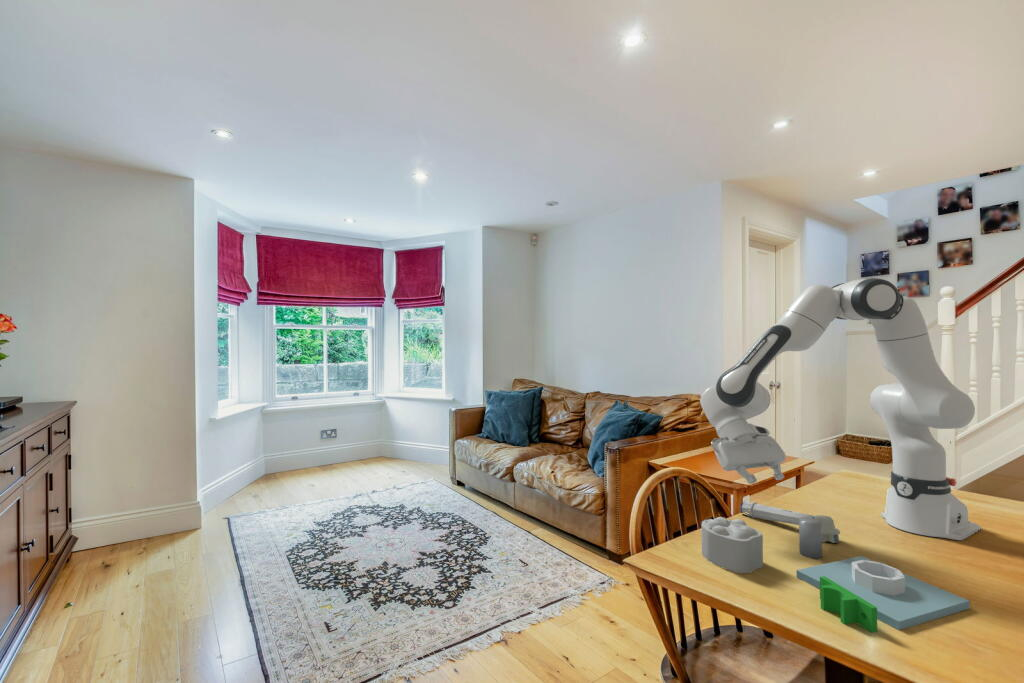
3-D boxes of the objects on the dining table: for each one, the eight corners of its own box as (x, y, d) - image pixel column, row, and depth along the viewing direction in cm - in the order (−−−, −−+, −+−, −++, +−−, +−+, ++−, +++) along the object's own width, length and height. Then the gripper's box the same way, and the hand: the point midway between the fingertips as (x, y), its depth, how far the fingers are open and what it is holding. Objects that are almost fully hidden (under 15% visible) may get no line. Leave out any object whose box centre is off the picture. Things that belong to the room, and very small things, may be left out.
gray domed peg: (808, 549, 115) (808, 516, 115) (826, 557, 111) (826, 523, 111) (794, 551, 114) (794, 518, 114) (812, 560, 109) (812, 525, 109)
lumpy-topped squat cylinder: (742, 576, 102) (741, 536, 102) (690, 554, 113) (690, 518, 113) (768, 564, 107) (768, 526, 107) (717, 544, 118) (717, 509, 118)
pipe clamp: (808, 601, 92) (807, 577, 93) (825, 599, 93) (824, 576, 93) (859, 635, 81) (858, 608, 81) (877, 633, 82) (877, 606, 82)
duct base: (861, 562, 108) (860, 542, 108) (969, 608, 89) (969, 584, 89) (796, 577, 101) (796, 556, 101) (899, 630, 83) (898, 604, 83)
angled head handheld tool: (747, 499, 141) (840, 512, 120) (751, 522, 140) (845, 539, 119) (737, 502, 138) (830, 516, 117) (740, 526, 137) (835, 544, 116)
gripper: (714, 432, 128) (743, 478, 118) (771, 428, 134) (803, 470, 125) (702, 445, 132) (729, 490, 123) (758, 440, 139) (788, 482, 129)
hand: (767, 480), depth 124 cm, fingers open, 8 cm apart
